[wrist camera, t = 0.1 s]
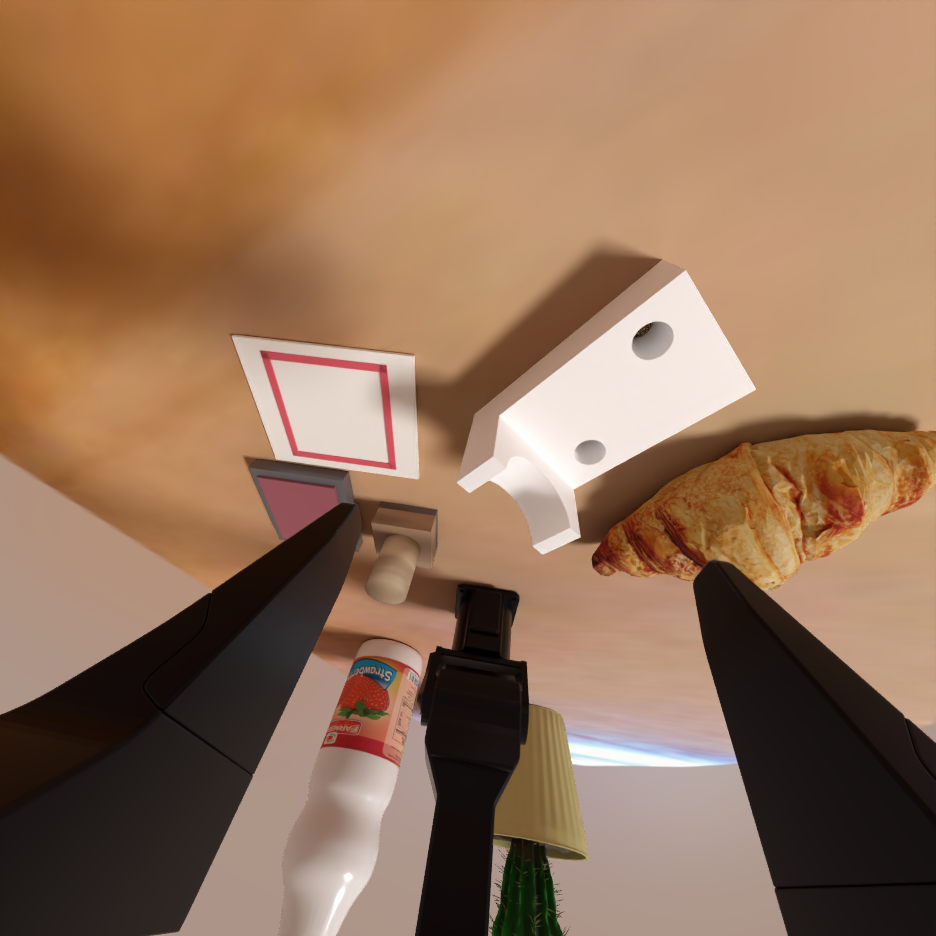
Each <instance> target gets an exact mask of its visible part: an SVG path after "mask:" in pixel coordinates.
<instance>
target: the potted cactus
mask: <svg viewBox="0 0 936 936" xmlns="http://www.w3.org/2000/svg"><path fill="white" fill-rule="evenodd" d="M493 846H496V847H500V848H503V849H507V850H509V852H508V853H509V854H508V856H507V858H506V859H507V860H506V864H505V867H504V873H503V881H502V889H501V904H500V906H499V905H497V906H498V907H499V911H498V914H497V916H496V919H495V921H493V919H492V921H493V927H491V928H492V936H563V934H564V933H562V931H561V929H560V926H559V924H558V922H557V918H558V917H559V914H561V913H559V914H556V911H557V910H556V901H555V897H554V892H557V893H558V891H554V889H555V888H553V881H552V877H551V874H550V868H549V863H548V860H547V858H554V859H563V860H573V861H583V860H588V859H589V857H588V854H587V844H586V838H585V833H584V827H583V822H582V817H581V811H580V806H579V800H578V795H577V789H576V784H575V779H574V773H573V768H572V762H571V757H570V751H569V746H568V740H567V735H566V729H565V724H564V721H563V718H562V717H561V715H559V714H558V713H556V712H555V711H553V710H550V709H548V708H544V707H541V706H537V705H531V704H529V725H528V735H527V740H526V744H525V745H521V746H520V760H519V762H518V765H517V767H516V769H515V771H514V773H513V775H512V777H511V779H510V781H509V783H508V784H507V786H506V788H505V790H504V792H503V794H502V796H501V798H500V800H499V802H498V804H497V806H496V808H495V819H494V836H493ZM495 884H496V883H495ZM496 885H498V884H496ZM498 886H499V887H500V885H498ZM500 888H501V887H500ZM560 891H561V890H560ZM498 898H499V897H498ZM496 901H499V900H496ZM559 901H560V900H559ZM496 904H497V903H496ZM557 906H558V905H557ZM557 912H558V911H557ZM556 915H558V916H557V918H556ZM490 917H491V916H490ZM489 928H490V927H489ZM491 928H490V929H491ZM564 932H565V931H564ZM567 932H568V931H567ZM565 935H566V934H565ZM565 935H564V936H565Z"/></svg>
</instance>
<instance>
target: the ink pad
mask: <svg viewBox="0 0 936 936" xmlns="http://www.w3.org/2000/svg"><path fill="white" fill-rule="evenodd" d="M249 470H250V472H251V474H252V477H253V479H254V481H255V484H256V486H257V488H258V491H259V493H260V495H261V498H262V500H263V502H264V504H265V507H266V509H267V511H268V514H269V516H270V518H271V521H272V523H273V525H274V527H275V530H276V532H277V534H278V537H279V539H282V540H287V539H288V538H290V537H291V536H293V535H294V534H296V533H297V532H299V531H300V530H301V529H303V528H304V527H306V526H307V525H309V524H310V523H312V522H313V521H315V520H316V519H317V518H319V517H320V516H322V515H323V514H325V513H326V512H328V511H329V510H331V509H332V508H334V507H335V506H336V505H338V504H339V503H341V502H349V503H355V501H354V496H353V491H352V486H351V481H350V476H349V472H347V471H340V470H333V469H326V468H319V467H312V466H305V465H297V464H290V463H283V462H276V461H269V460H262V459H257V460H256V461H255V462H254V463H253V464H252V465H251V466H250V467H249ZM362 543H363V540H362V535H360V538H359V541H358V544H357V546H356V549H355V551H357V552H358V551H359V549H360V547H361V545H362Z"/></svg>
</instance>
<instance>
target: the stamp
mask: <svg viewBox="0 0 936 936" xmlns="http://www.w3.org/2000/svg"><path fill="white" fill-rule="evenodd" d="M371 525H372V531H373V537H374V542H375V548H376V554H377V560H376V562H375V565H374V567H373V569H372V572H371V574H370V576H369V579H368V581H367V583H366V586H365V589H366V592H367V593H368V594H369V595H370V596H371V597H372V598H374V599H375V600H377V601H380V602H383V603H387V604H399V603H402V602H403V601H405V599H406V596H407V593H408V590H409V587H410V584H411V580H412V577H413V574H414V571H415V568H416V566H417V567H423V568H429V569H431V568H432V564H433V561H434V557H435V553H436V550H437V510H435V509H429V508H422V507H415V506H408V505H401V504H394V503H388V502H381V504H380V506H379V508H378V510H377V512H376V514H375V516H374V518H373V520H372V522H371Z"/></svg>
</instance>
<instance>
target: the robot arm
mask: <svg viewBox="0 0 936 936" xmlns="http://www.w3.org/2000/svg"><path fill="white" fill-rule="evenodd" d="M361 531H362V521H361V515H360V510H359V506H358V505H357V504H355V503H349V502H341V503H339V504H338V505H336V506H335V507H334V508H332V509H331V510H329V511H328V512H326V513H325V514H323V515H322V516H320V517H319V518H317V519H316V520H315V521H313V522H312V523H310V524H309V525H307V526H306V527H304V528H303V529H301V530H300V531H299V532H297V533H296V534H294V535H293V536H291V537H290V538H288V539H287V540H285V541H284V542H282V543H281V544H280V545H278V546H277V547H275V548H274V549H272V550H271V551H269V552H268V553H266V554H265V555H264V556H262V557H261V558H259V559H258V560H256V561H255V562H253V563H252V564H250V565H249V566H247V567H246V568H245V569H243V570H242V571H240V572H239V573H237V574H236V575H234V576H233V577H231V578H230V579H229V580H227V581H226V582H224V583H223V584H221V585H220V586H218V587H217V588H215V589H214V590H213V591H212V593H208V594H206V595H205V596H204V597H202V598H201V599H199V600H198V601H196V602H195V603H193V604H192V605H190V606H189V607H187V608H186V609H184V610H183V611H181V612H180V613H178V614H177V615H175V616H174V617H172V618H171V619H169V620H168V621H166V622H165V623H163V624H161V625H160V626H158V627H157V628H155V629H153V630H152V631H150V632H148V633H147V634H145V635H143V636H142V637H140V638H139V639H137V640H135V641H134V642H132V643H131V644H129V645H127V646H125V647H124V648H122V649H120V650H119V651H117V652H115V653H114V654H112V655H110V656H109V657H107V658H105V659H103V660H102V661H100V662H98V663H97V664H95V665H93V666H92V667H90V668H88V669H87V670H85V671H83V672H82V673H80V674H78V675H77V676H75V677H73V678H72V679H70V680H68V681H66V682H65V683H63V684H61V685H60V686H58V687H56V688H55V689H53V690H51V691H49V692H48V693H46V694H44V695H42V696H40V697H38V698H36V699H35V700H33V701H30V702H28V703H27V704H24V705H22V706H20V707H18V708H15V709H13V710H11V711H9V712H6V713H4V714H1V715H0V936H151V935H159V934H166V933H174V932H178V931H179V930H180V928H181V927H182V924H183V923H184V921H185V919H186V917H187V914H188V912H189V910H190V908H191V906H192V904H193V902H194V900H195V898H196V896H197V894H198V892H199V889H200V887H201V885H202V883H203V881H204V879H205V877H206V875H207V872H208V870H209V868H210V866H211V864H212V862H213V860H214V858H215V856H216V853H217V851H218V849H219V847H220V845H221V843H222V841H223V838H224V837H225V834H226V832H227V830H228V828H229V826H230V824H231V822H232V820H233V817H234V815H235V813H236V811H237V809H238V807H239V805H240V803H241V801H242V799H243V796H244V794H245V792H246V790H247V788H248V786H249V784H250V782H251V780H252V777H253V775H252V774H254V773H255V771H256V768H257V766H258V764H259V762H260V760H261V758H262V756H263V754H264V752H265V749H266V747H267V745H268V743H269V741H270V739H271V736H272V735H273V733H274V730H275V728H276V726H277V724H278V722H279V720H280V718H281V716H282V714H283V711H284V709H285V707H286V705H287V703H288V701H289V699H290V697H291V695H292V692H293V690H294V688H295V686H296V684H297V682H298V680H299V678H300V675H301V673H302V671H303V669H304V667H305V665H306V663H307V660H308V658H309V656H310V654H311V652H312V650H313V648H314V646H315V644H316V642H317V640H318V637H319V635H320V633H321V631H322V629H323V627H324V625H325V623H326V621H327V618H328V616H329V614H330V612H331V610H332V608H333V606H334V604H335V602H336V599H337V597H338V595H339V593H340V591H341V589H342V586H343V584H344V581H345V578H346V576H347V573H348V570H349V567H350V564H351V561H352V558H353V555H354V552H355V549H356V546H357V544H358V541H359V538H360V535H361ZM693 589H694V594H695V600H696V606H697V611H698V617H699V622H700V628H701V634H702V639H703V644H704V648H705V652H706V656H707V659H708V663H709V666H710V669H711V673H712V676H713V680H714V683H715V687H716V690H717V693H718V697H719V700H720V704H721V707H722V711H723V714H724V717H725V721H726V724H727V728H728V731H729V734H730V738H731V741H732V745H733V748H734V752H735V755H736V758H737V762H738V765H739V769H740V772H741V776H742V779H743V782H744V785H745V789H746V793H747V796H748V800H749V802H750V806H751V810H752V813H753V816H754V820H755V823H756V826H757V830H758V833H759V837H760V841H761V844H762V847H763V851H764V854H765V858H766V861H767V864H768V868H769V871H770V875H771V878H772V881H773V885H774V886H775V887H776V888H775V893H776V896H777V900H778V903H779V907H780V910H781V913H782V917H783V920H784V924H785V927H786V931H787V934H788V936H936V743H935V742H934V741H933V740H932V739H930V737H928V736H927V735H926V734H925V733H924V732H923V731H922V730H920V729H919V728H918V727H917V726H916V725H915V724H914V723H913V722H911V721H910V720H909V719H907V718H905V717H904V715H903V714H902V713H901V712H900V711H899V710H898V709H897V708H895V707H894V706H893V705H892V704H891V703H890V702H889V701H887V700H886V699H885V698H884V697H883V696H882V695H881V694H879V693H878V692H877V691H876V690H875V689H874V688H873V687H872V686H870V685H869V684H868V683H867V682H866V681H865V680H864V679H862V678H861V677H860V676H859V675H858V674H857V673H856V672H855V671H853V670H852V669H851V668H850V667H849V666H848V665H847V664H845V663H844V662H843V661H842V660H841V659H840V658H839V657H838V656H836V655H835V654H834V653H833V652H832V651H831V650H830V649H828V648H827V647H826V646H825V645H824V644H823V643H822V642H820V641H819V640H818V639H817V638H816V637H815V636H814V635H813V634H811V633H810V632H809V631H808V630H807V629H806V628H805V627H803V626H802V625H801V624H800V623H799V622H798V621H797V620H796V619H794V618H793V617H792V616H791V615H790V614H789V613H788V612H786V611H785V610H784V609H783V608H782V607H781V606H780V605H779V604H777V603H776V602H775V601H774V600H773V599H772V598H771V597H769V596H768V595H767V594H766V593H765V592H764V591H763V590H761V589H760V588H759V587H758V586H757V585H756V584H755V583H754V582H752V581H751V580H750V579H749V578H748V577H747V576H746V575H744V574H743V573H742V572H741V571H740V570H739V569H738V568H737V567H735V566H734V565H733V564H731V563H729V562H726V561H720V560H710V561H709V562H708V563H707V564H706V565H705V566H704V567H703V569H702V570H701V571H700V572H699V573H698V575H697V576H696V577H695V579H694V582H693ZM518 603H519V595H518V594H516V593H511V592H505V591H499V590H493V589H486V588H480V587H474V586H468V585H458V587H457V597H456V611H455V618H456V619H457V622H456V628H455V634H454V640H453V645H452V650H451V649H446V648H442V647H440V646H437V648H436V652H433V653H430V656H429V660H428V665H427V669H426V673H425V676H424V679H423V682H422V685H421V688H420V691H419V694H418V698H417V703H418V705H419V707H420V709H421V713H420V714H421V715H422V716H421V725H423V726H427V730H426V735H425V757H426V758H425V759H426V764H427V769H428V773H429V777H430V781H431V785H432V789H433V793H434V797H435V801H436V806H435V813H434V819H433V825H432V831H431V838H430V844H429V851H428V857H427V863H426V869H425V876H424V883H423V888H422V895H421V901H420V907H419V914H418V920H417V927H416V933H415V936H488V926H489V908H490V888H491V872H492V854H493V836H494V819H495V808H496V806H497V804H498V802H499V800H500V798H501V796H502V794H503V792H504V790H505V788H506V786H507V784H508V783H509V781H510V779H511V777H512V775H513V773H514V771H515V769H516V767H517V765H518V762H519V760H520V746H521V745H525V744H526V740H527V735H528V725H529V696H528V678H527V662H526V661H521V662H520V661H514V660H510V643H511V627H512V624H513V621H514V617H515V614H516V610H517V607H518Z"/></svg>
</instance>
